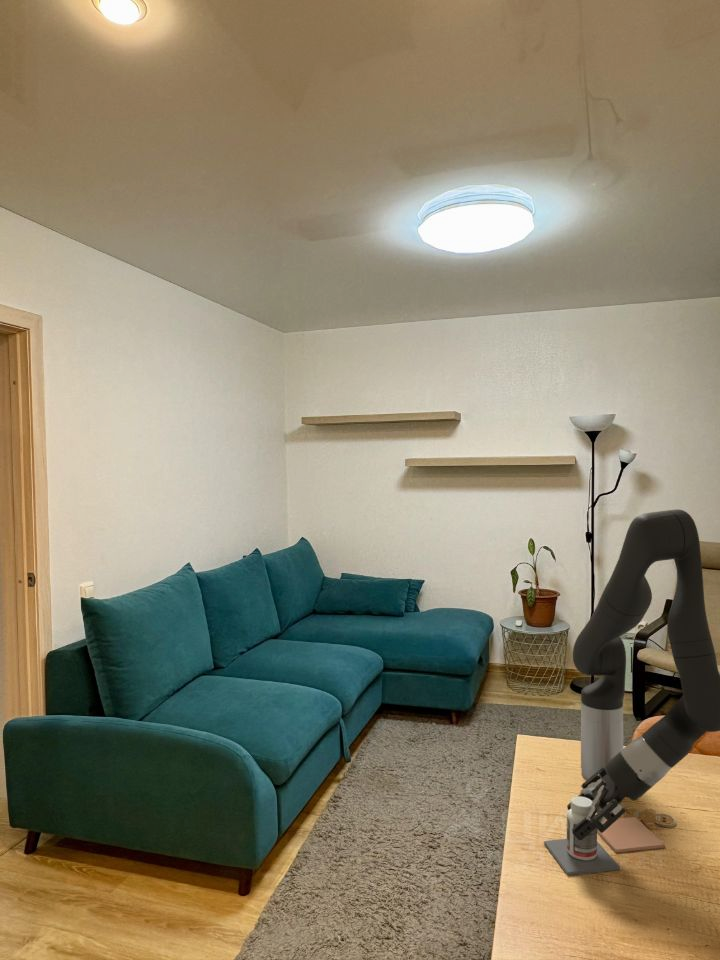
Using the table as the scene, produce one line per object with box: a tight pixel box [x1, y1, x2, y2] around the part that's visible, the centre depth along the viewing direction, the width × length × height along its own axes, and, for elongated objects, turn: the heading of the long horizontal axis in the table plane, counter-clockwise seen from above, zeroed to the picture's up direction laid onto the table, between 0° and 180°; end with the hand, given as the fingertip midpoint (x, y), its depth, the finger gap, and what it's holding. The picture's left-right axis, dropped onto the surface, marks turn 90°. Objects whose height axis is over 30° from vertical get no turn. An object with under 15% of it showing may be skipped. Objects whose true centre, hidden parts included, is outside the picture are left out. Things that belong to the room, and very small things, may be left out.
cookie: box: [623, 806, 677, 830], centre depth 137 cm, size 8×1×10 cm
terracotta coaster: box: [597, 817, 666, 854], centre depth 131 cm, size 10×10×1 cm
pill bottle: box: [566, 795, 598, 860], centre depth 124 cm, size 5×5×10 cm
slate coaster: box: [543, 838, 621, 876], centre depth 125 cm, size 10×10×1 cm
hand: (572, 823), depth 125 cm, fingers open, 8 cm apart
